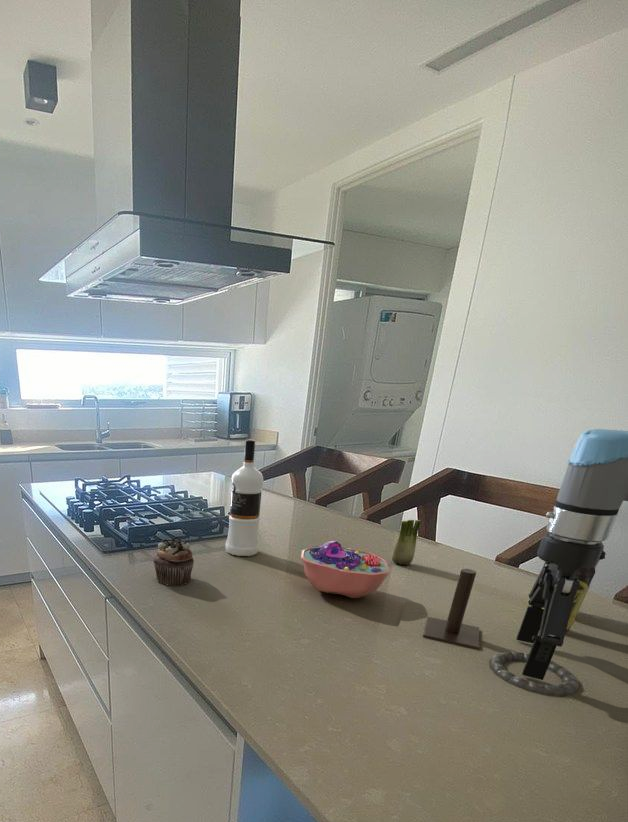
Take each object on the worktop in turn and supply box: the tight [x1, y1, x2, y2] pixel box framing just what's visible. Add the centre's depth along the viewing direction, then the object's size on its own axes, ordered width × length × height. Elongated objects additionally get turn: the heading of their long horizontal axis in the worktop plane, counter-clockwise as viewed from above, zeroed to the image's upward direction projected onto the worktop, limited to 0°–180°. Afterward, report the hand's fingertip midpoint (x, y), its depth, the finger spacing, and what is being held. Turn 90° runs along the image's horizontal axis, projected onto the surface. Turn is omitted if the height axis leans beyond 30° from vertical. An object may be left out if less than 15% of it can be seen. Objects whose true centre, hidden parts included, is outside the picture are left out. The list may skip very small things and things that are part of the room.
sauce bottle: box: [542, 567, 596, 634], centre depth 91 cm, size 7×6×20 cm
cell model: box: [300, 540, 392, 599], centre depth 108 cm, size 17×20×11 cm
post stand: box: [422, 568, 480, 651], centre depth 89 cm, size 9×9×14 cm
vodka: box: [225, 439, 264, 557], centre depth 129 cm, size 9×9×30 cm
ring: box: [488, 651, 580, 697], centre depth 79 cm, size 12×12×2 cm
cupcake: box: [152, 537, 195, 586], centre depth 114 cm, size 10×10×10 cm
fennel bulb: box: [391, 519, 422, 566], centre depth 127 cm, size 6×5×12 cm
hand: (528, 657), depth 83 cm, fingers open, 13 cm apart
